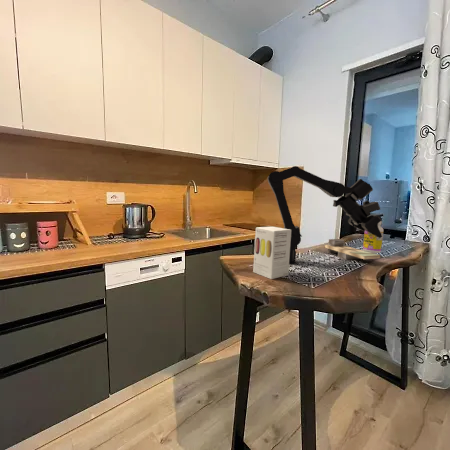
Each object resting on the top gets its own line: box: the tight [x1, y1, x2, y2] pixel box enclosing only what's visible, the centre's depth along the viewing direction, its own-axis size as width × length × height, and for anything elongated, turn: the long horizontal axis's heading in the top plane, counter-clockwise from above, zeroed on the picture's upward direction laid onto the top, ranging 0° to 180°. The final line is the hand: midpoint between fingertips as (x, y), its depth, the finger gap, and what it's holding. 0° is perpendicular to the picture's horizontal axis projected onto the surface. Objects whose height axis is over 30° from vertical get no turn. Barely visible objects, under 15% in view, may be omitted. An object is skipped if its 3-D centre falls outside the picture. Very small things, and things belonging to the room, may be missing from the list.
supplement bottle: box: [362, 220, 384, 254], centre depth 105 cm, size 7×7×13 cm
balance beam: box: [324, 238, 381, 261], centre depth 121 cm, size 24×10×7 cm, turn 19°
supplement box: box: [252, 226, 291, 280], centre depth 92 cm, size 10×9×17 cm
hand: (376, 235), depth 105 cm, fingers closed on supplement bottle, 7 cm apart
